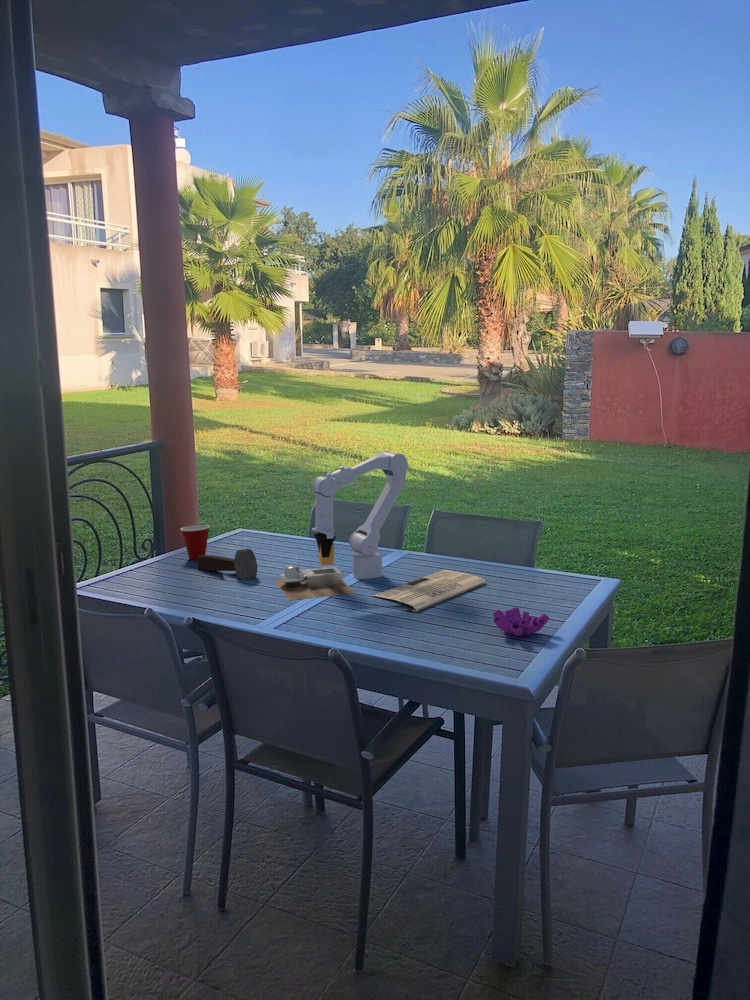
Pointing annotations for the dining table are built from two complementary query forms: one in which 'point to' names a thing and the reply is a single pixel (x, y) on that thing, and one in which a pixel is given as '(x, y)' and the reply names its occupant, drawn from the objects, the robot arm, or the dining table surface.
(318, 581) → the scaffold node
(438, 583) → the newspaper
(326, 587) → the board
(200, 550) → the plastic cup
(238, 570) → the hammer
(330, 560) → the tan rectangular prism
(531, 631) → the purple coral
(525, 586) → the dining table surface
